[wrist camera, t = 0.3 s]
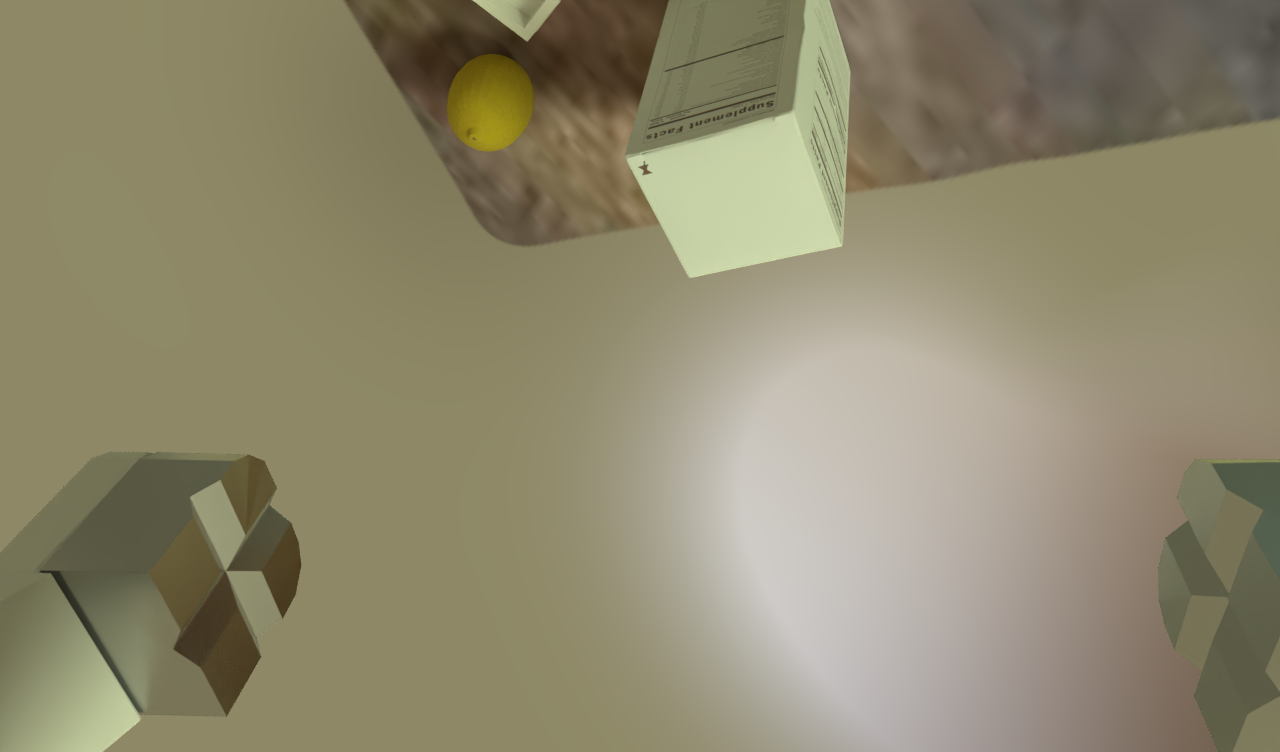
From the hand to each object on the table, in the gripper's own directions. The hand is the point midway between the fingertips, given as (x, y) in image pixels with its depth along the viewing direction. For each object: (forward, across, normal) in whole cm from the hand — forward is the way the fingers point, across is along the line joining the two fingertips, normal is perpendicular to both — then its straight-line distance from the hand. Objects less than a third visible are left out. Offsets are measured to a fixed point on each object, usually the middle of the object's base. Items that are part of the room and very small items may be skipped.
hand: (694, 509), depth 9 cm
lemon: (+58, +18, +12) cm, 62 cm away
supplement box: (+56, +1, +10) cm, 57 cm away
